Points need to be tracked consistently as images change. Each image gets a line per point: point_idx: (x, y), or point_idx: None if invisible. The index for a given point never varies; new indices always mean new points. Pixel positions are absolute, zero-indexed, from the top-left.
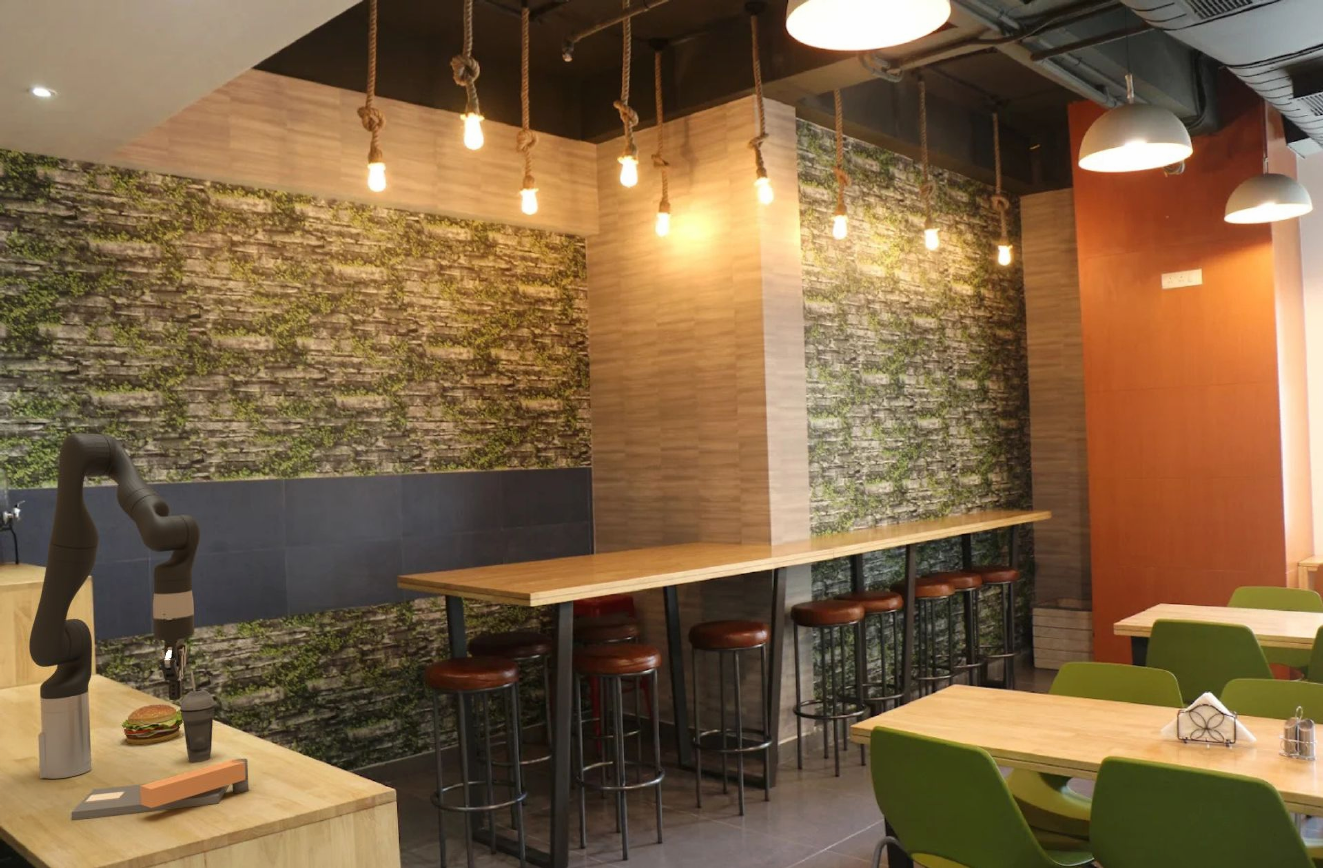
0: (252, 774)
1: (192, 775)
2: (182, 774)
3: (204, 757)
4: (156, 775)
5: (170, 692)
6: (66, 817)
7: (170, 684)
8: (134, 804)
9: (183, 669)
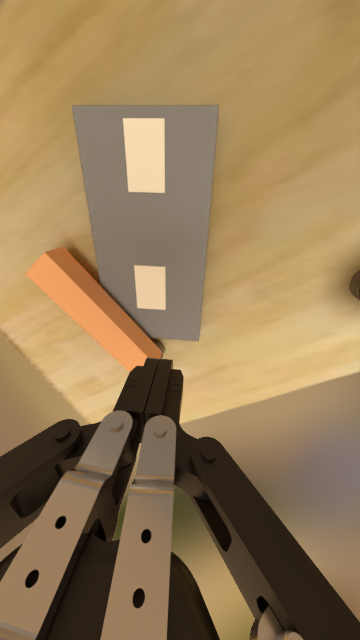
0: (220, 356)
1: (87, 323)
2: (96, 309)
3: (354, 292)
4: (306, 219)
5: (126, 381)
6: (97, 90)
7: (114, 409)
8: (95, 228)
9: (190, 498)
